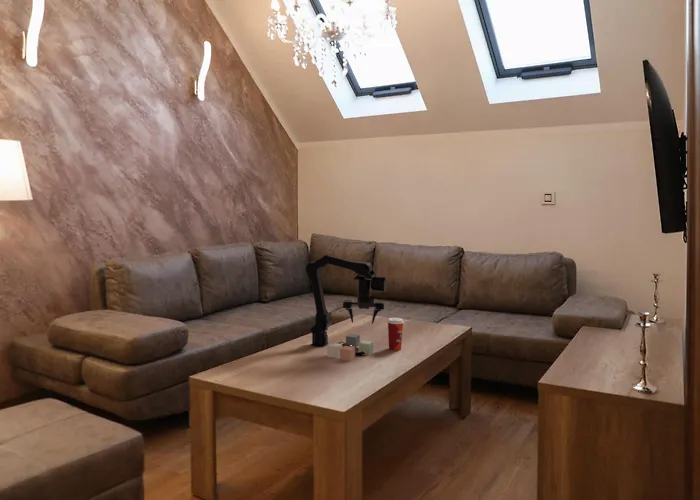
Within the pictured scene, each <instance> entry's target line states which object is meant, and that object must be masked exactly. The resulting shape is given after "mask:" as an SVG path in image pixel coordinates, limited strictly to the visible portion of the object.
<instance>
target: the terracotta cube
mask: <svg viewBox="0 0 700 500" xmlns="http://www.w3.org/2000/svg"><path fill="white" fill-rule="evenodd" d="M354 359H356V348H355V347H351V346H346V345H344V346H343V345H342V348H340V357H339V360H340V361H347V362H352V361H353V360H354Z"/></svg>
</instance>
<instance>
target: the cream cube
mask: <svg viewBox="0 0 700 500" xmlns="http://www.w3.org/2000/svg"><path fill="white" fill-rule="evenodd" d="M326 346H327V347H326V350H327V351H326V356H327V358H335V359H338V358H340V348H342V347H343V344H342V343H336V342H335V343H334V342H331V343H328V344H327V345H326Z"/></svg>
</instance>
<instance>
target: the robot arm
mask: <svg viewBox="0 0 700 500" xmlns="http://www.w3.org/2000/svg"><path fill="white" fill-rule="evenodd" d="M328 265H333V266H336V267H339V268H343V269H347V270H350V271H352V272H354V273H355V274H356V276H355V277H353V279H354V280H356V281H357V280H358V281H357V296H356V297H357V299H356V301H352V299H343V301H342V308H343V309H345V311H348V313H349V316H350V320H351V323H352V324H353V323H354V318H353V317H354V316H353V307H358V309H360V310H362V309H366V310H369V309H370V308H373V311H372V317H371V318H372V319H371V324H374V322H375V320H376V316H377V314H378V313H379V312H381V311H383V310H384V309H385V303H384V302H383V301H381V300H375V298H374V297H371V290H372V291H374V292H383V293H386V292H387V289H388V280H387V277H386V276H377V274H376V272H375V271H374V269H373V265H372V263H371V262H368V261H361V260H360V261H357V260H356V261H354V260H351V259H347V258H343V257H339V256H335V255H333V254H325V255H324V256H322V257H320V258H318V259H317V260H316V261H311V262H309V263H307V265H305V272H306V275H307V278H308V279H309V280H310V282H311V283H310V284H311V288H312V293H313V300H314V305H315V310H316V313H315V317H314V319H315V321H314V322H315V323H314V325H313V326H312V327H311V328H310V332H311V335H312V336H311V342H312V343H310V346H314V347H320V348H321V347H325V346H328V345H329V342H328V341H329V337H328V329H329V327H331V326H332V321H333V318H332V312H330V311H328V310H327V307H326V302H325V296H324V289H323V286H322V285H323V284H322V276H323V268H325V267H326V266H328Z"/></svg>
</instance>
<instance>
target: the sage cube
mask: <svg viewBox="0 0 700 500" xmlns="http://www.w3.org/2000/svg"><path fill="white" fill-rule="evenodd" d="M359 351H363V352H364V353H365V354H364V355H366V356H370V355H371V354H372V353H374V341H372V340H371V341H370V340H360V343H359V346H358V352H359Z"/></svg>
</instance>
